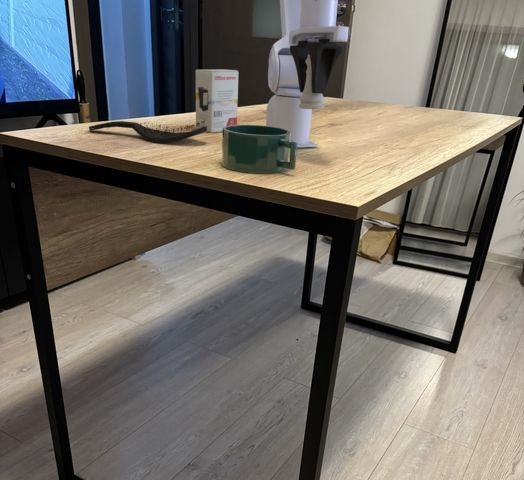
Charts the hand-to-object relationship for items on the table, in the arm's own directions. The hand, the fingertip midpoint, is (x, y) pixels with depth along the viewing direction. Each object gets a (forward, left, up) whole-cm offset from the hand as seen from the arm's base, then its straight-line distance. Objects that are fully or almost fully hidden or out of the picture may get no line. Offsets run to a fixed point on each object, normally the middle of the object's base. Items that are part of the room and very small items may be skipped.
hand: (312, 93), depth 89 cm
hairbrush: (-24, -22, -11) cm, 34 cm away
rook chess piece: (0, 0, -3) cm, 3 cm away
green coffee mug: (+6, -12, -10) cm, 17 cm away
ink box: (-32, -4, -11) cm, 34 cm away
